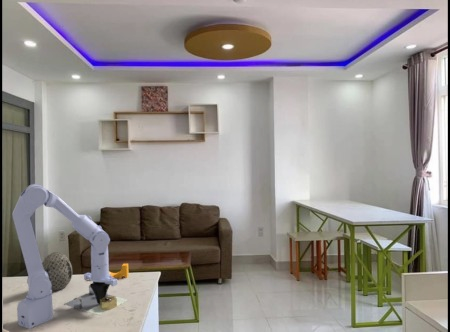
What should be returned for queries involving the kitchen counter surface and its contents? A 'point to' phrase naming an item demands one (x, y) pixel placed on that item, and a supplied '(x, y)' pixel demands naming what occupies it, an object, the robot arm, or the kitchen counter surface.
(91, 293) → the cylinder
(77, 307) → the cylinder
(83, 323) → the kitchen counter surface
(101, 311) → the board
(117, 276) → the pipe clamp
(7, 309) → the kitchen counter surface
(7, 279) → the kitchen counter surface
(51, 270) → the decorative egg
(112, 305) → the brass nut
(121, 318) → the kitchen counter surface
